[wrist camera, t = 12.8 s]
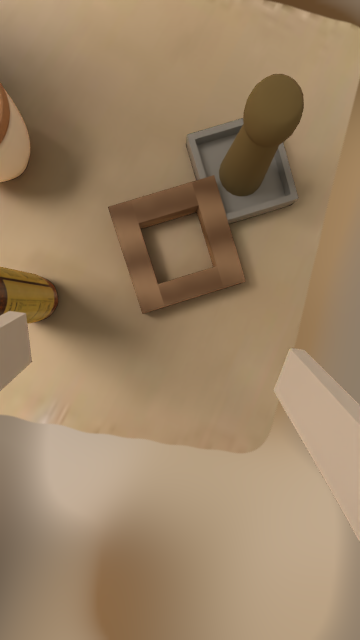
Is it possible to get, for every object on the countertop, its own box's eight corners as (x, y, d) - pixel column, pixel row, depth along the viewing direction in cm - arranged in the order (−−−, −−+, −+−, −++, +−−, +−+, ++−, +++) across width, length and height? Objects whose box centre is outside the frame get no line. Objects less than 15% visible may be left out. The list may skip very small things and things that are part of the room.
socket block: (112, 213, 30) (108, 207, 28) (211, 183, 31) (214, 175, 29) (144, 313, 31) (142, 313, 29) (240, 283, 31) (245, 281, 29)
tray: (186, 145, 30) (186, 134, 29) (267, 120, 31) (273, 108, 29) (211, 229, 31) (213, 224, 29) (291, 204, 31) (298, 198, 29)
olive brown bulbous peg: (239, 140, 30) (278, 41, 19) (272, 171, 30) (330, 92, 19) (209, 175, 30) (231, 97, 19) (243, 206, 30) (284, 147, 19)
